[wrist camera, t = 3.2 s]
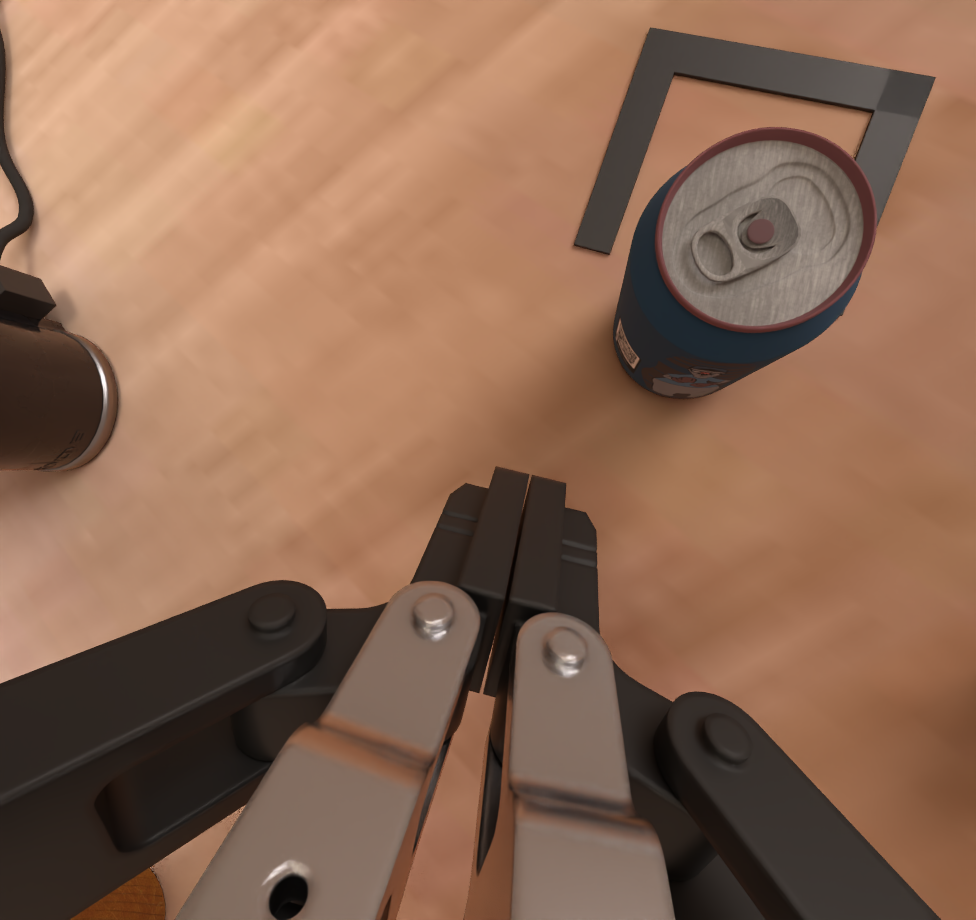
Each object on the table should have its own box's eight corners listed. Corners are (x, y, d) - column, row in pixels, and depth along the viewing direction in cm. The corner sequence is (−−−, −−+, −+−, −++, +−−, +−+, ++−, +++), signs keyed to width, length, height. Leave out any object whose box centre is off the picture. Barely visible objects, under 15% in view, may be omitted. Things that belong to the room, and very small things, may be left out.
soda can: (716, 246, 25) (834, 55, 13) (775, 366, 24) (952, 280, 13) (590, 307, 26) (596, 182, 14) (643, 423, 26) (695, 392, 14)
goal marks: (840, 316, 24) (842, 315, 24) (574, 245, 26) (574, 243, 26) (933, 79, 23) (935, 76, 23) (649, 29, 26) (650, 27, 26)
